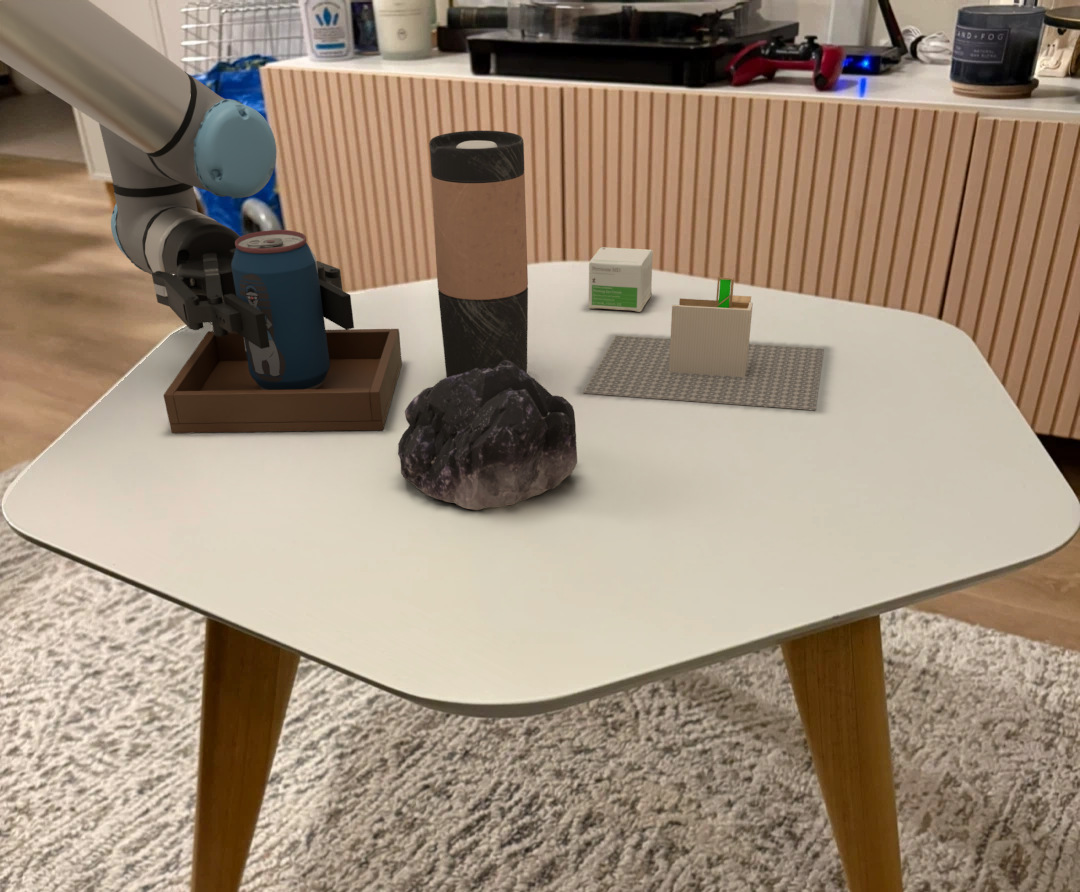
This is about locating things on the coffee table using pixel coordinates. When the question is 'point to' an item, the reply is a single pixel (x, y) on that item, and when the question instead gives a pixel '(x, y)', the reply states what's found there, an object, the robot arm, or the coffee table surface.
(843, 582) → the coffee table surface
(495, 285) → the travel mug
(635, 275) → the small box
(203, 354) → the tray
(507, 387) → the crystal cluster
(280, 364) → the soda can
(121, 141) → the robot arm
